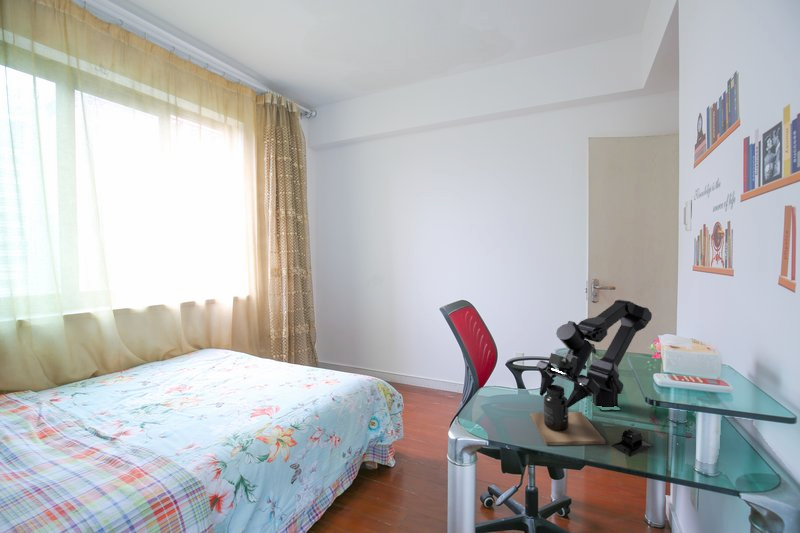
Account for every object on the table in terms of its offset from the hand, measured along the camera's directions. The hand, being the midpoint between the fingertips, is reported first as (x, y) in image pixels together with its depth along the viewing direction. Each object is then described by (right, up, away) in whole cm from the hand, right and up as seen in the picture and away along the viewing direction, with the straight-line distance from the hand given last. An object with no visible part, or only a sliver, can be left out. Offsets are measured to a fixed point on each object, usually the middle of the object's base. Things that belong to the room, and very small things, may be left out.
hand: (553, 401), depth 111 cm
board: (+4, -9, +1) cm, 10 cm away
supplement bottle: (+2, -8, +2) cm, 9 cm away
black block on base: (+18, -10, -9) cm, 22 cm away
